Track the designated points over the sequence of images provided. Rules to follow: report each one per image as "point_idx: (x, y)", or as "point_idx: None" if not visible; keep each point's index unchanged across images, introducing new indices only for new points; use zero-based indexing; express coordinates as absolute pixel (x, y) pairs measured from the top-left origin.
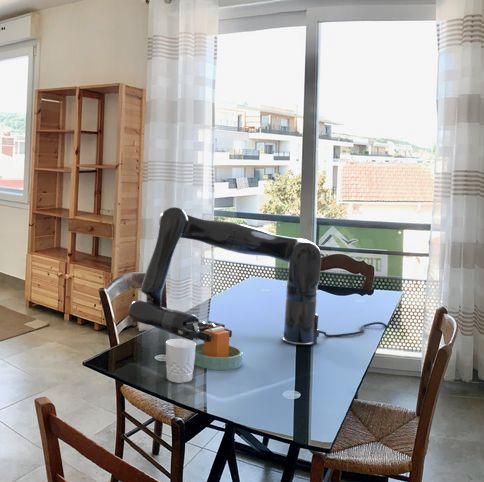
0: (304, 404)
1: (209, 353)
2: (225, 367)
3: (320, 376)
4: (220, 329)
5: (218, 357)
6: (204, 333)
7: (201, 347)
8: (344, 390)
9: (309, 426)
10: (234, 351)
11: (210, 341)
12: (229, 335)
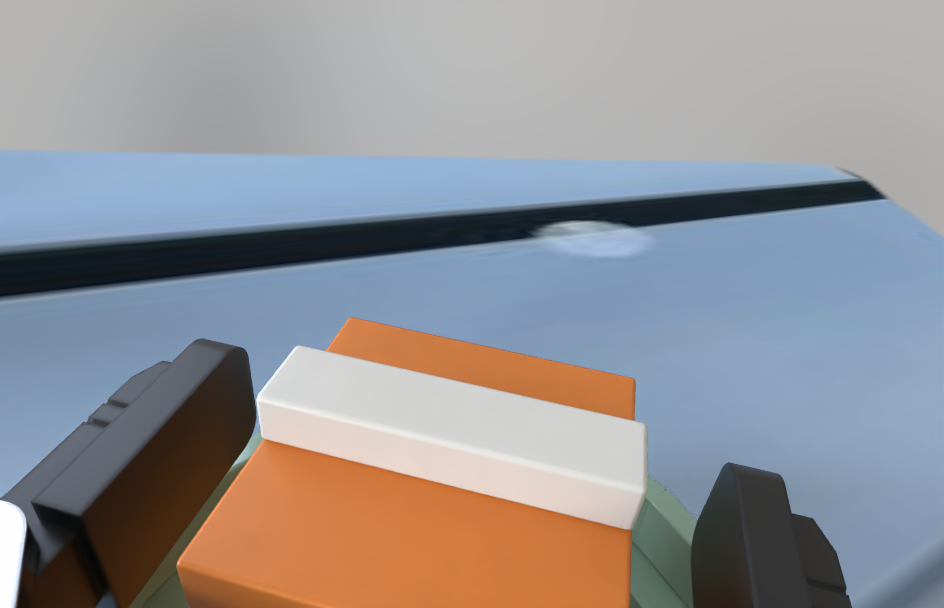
0: (649, 206)
1: None
2: None
3: (266, 208)
4: (411, 386)
5: (672, 509)
6: (805, 576)
7: None
8: (395, 161)
9: (791, 185)
10: (178, 549)
11: (694, 543)
12: (251, 410)
